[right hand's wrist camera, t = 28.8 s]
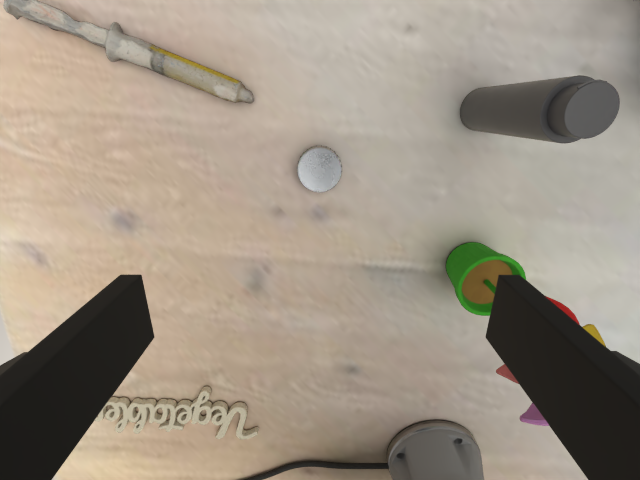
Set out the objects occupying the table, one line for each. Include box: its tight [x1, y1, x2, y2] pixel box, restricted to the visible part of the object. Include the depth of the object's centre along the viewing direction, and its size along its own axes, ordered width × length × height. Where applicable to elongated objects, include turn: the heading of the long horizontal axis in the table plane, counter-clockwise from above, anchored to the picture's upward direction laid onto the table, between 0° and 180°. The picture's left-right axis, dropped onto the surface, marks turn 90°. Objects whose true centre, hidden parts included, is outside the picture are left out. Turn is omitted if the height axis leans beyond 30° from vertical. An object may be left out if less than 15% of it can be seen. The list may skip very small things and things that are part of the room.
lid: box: [297, 146, 342, 192], centre depth 40 cm, size 5×5×2 cm
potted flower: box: [446, 242, 606, 426], centre depth 34 cm, size 9×8×25 cm
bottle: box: [460, 76, 620, 143], centre depth 31 cm, size 5×5×17 cm
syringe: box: [4, 0, 254, 103], centre depth 36 cm, size 25×4×3 cm, turn 67°
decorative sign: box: [94, 386, 259, 439], centre depth 55 cm, size 26×1×10 cm
